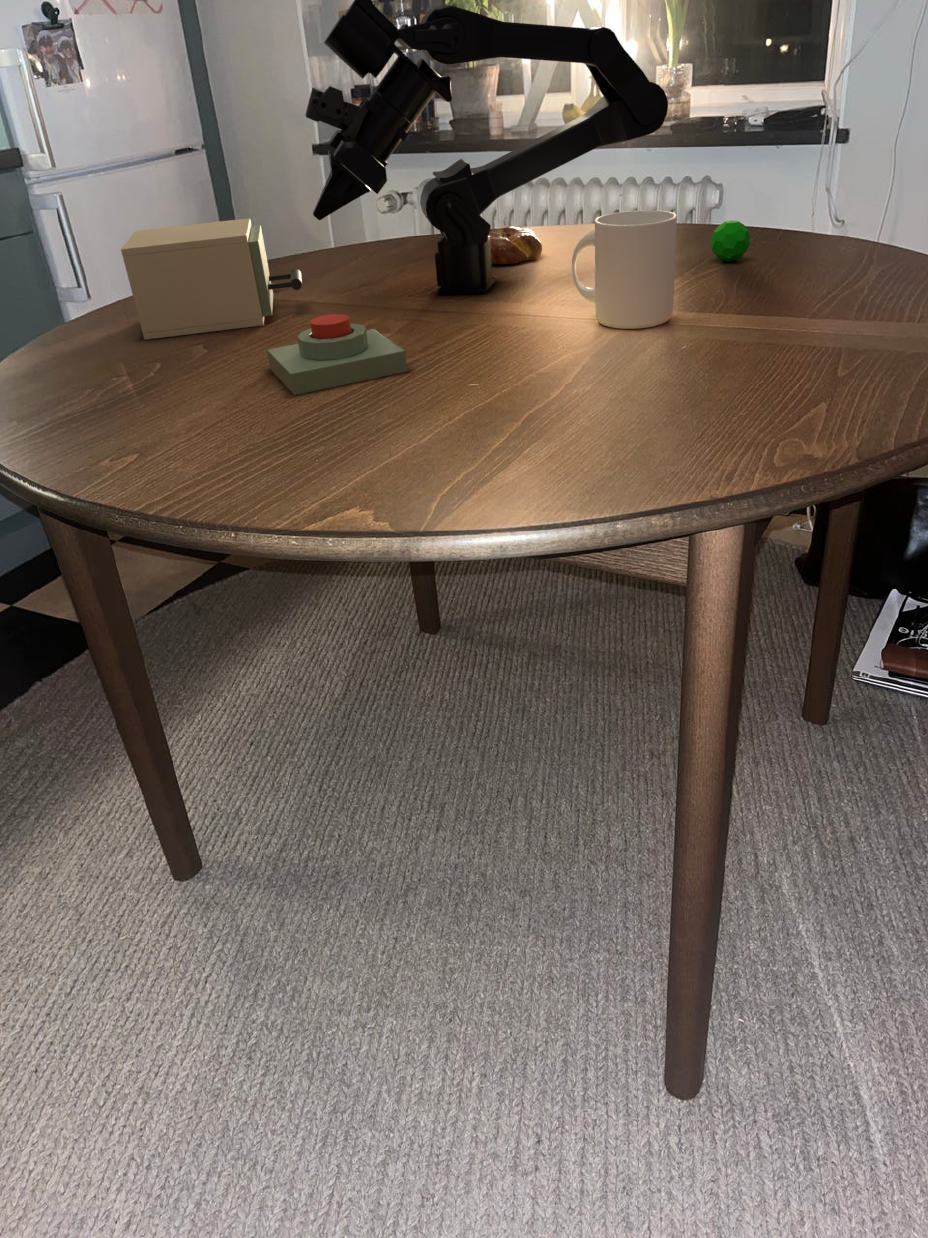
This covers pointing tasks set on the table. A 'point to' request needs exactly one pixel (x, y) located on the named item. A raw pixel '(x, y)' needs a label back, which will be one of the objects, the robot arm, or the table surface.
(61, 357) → the table surface
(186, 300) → the tan box with sleeve
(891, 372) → the table surface
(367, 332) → the control block
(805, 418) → the table surface
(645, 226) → the mug
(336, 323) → the button
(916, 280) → the table surface
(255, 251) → the drawer
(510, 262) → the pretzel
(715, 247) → the polyhedron
